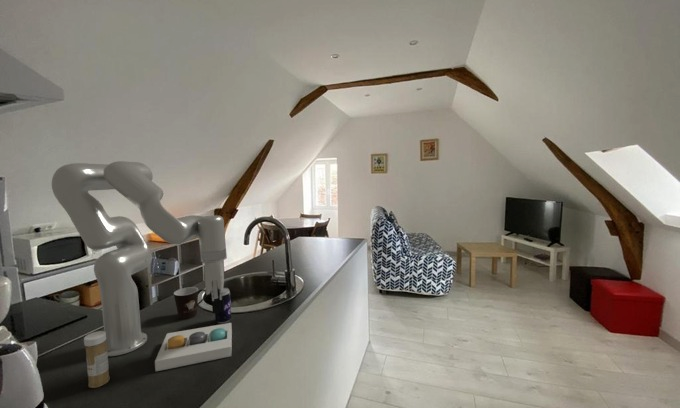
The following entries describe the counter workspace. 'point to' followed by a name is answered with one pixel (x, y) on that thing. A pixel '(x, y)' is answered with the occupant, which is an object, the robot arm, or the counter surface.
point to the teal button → (217, 334)
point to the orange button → (176, 342)
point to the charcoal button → (197, 338)
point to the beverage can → (226, 313)
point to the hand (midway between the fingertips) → (218, 311)
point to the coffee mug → (187, 302)
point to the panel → (194, 348)
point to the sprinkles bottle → (97, 359)
